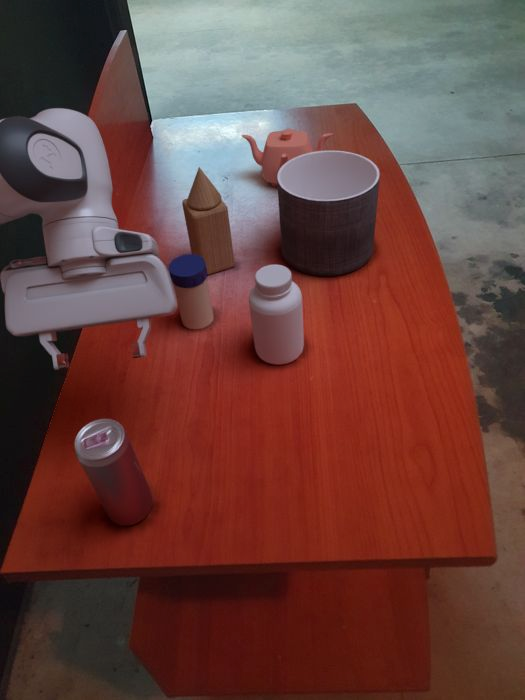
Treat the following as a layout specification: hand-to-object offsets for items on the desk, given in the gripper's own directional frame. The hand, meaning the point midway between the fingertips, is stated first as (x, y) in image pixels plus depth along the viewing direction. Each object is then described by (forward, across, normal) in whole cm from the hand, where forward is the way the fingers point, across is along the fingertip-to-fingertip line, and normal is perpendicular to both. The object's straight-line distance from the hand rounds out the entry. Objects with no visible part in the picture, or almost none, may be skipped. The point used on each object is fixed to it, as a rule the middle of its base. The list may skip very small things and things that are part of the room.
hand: (101, 363), depth 69 cm
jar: (-6, +11, +29) cm, 32 cm away
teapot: (-36, +34, +60) cm, 77 cm away
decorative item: (-16, +15, +40) cm, 46 cm away
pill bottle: (+2, +23, +22) cm, 32 cm away
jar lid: (-14, +11, +21) cm, 27 cm away
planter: (-16, +37, +40) cm, 56 cm away
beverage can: (+19, 0, +5) cm, 20 cm away
